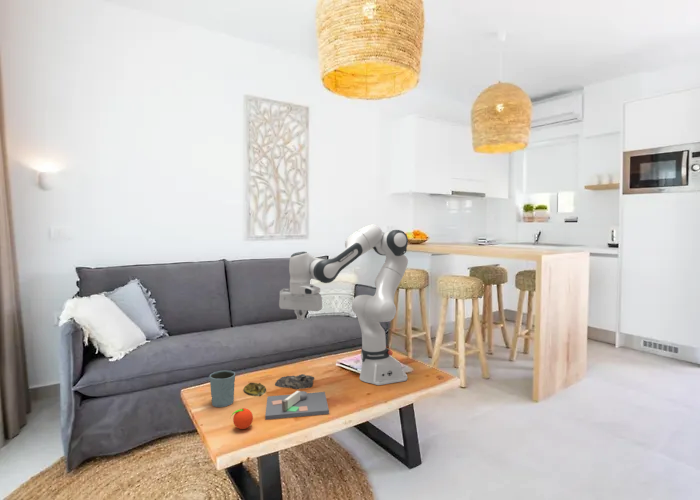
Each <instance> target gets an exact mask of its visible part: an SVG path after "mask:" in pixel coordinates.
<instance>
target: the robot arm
mask: <svg viewBox="0 0 700 500" xmlns="http://www.w3.org/2000/svg"><path fill="white" fill-rule="evenodd" d="M408 244H409V238H408V235H407V233H405V232H404V231H403V230H400V229H394V230H390V231H386V232H384V231H383V230H382V229H381V227H380V226H379V225H378V224H374V223H371V224H368V225H365V226H362V227H361V228H359V229H357V230H356V231H354V232H352V233H351V234H349V236H347V237H346V238H345V240H344V247H345V249H343V251H341V252H340V253H338V254H337V255H336V256H334V257H332V258H327V259H324V258H318V257H317V256H316V257H315V256H314V255H311V254H310V253H308V252H307V251H298V252H294V253H293V254H291V256H289V257H290V258H289V263H288V265H289V268H288V270H289V271H288V272H289V276H290V277H289V278H290V279H289V287H287V288H286V287H283V288H281V289H280V290H279V298H278V299H279V300H278V307H279V309H280V310H294V314H295V315H296V320H297V321H304V320H305V316H306V314H307V312H308V311H309V312H320V311H322V309H323V297H322V295H321V294H320V293H321V288H320V287H318V286H315V285H313V284H311V280H315V281H318V282H321V283H323V284H330V283H332V282H333V281H335V280H336V279H337V277H338V275H339V274H340V273H341V271H342V270H344V269H345V268H347V267H348V266H349V265H350V264H351V263H352V262H354V261H356V260H357V259H359V257H360V256H362V255H364V254H365V253H367V252H369V251H370V250H372V249H373V251H374V252H375V253H376V254H378V255H380V256H385V259H384V260H385V261H384V263H383V265H382V267H381V268H380V270H379V271H378V274H377V275H376V277H375V279H374V286H375V287H376V289H375V293H374V295H370V294H360V295H356V296H355V297H354V298H353V299H352V303H351V310H352V312H353V313H354V314H355V316H356V318H357V320H358V324H359V326H360V331H361V346H362V348H361V350H360V352H361V353H360V356H361V368H360V373H359V380H360V381H362V382H363V383H369V384H373V385H374V386H382V385H388V384H393V383H394V384H395V383H399V382H400V383H401V382H406V381H408V374H407V373H406V372H405V371H404V370H403V367H402V365H401V363H400V362H399V360H397V359H396V358H394V357H392V355H393V351H392V350H391V349H389V347H387V345H386V343H387V341H386V332H385V329H384V328H383V326H382V325H381V323H386V322H387V323H388V322H391V321H392V320H393V319H394V318H395V316H396V315H397V307H396V304H395V294H396V291H397V290H398V287H399V285H400V283H401V281H402V279H403V277H404V275H405V273H406V270H407V268H408V267H407V266H408V264H409V263H408V262H409V260H408V258H407V256H406V255H405V253H407V247H408ZM300 311H301V314H300Z"/></svg>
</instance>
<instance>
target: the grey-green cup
mask: <svg viewBox="0 0 700 500" xmlns="http://www.w3.org/2000/svg"><path fill="white" fill-rule="evenodd" d="M235 381H236V372H235V371H232V370H228V369H227V370H218V371H214V372H213V373H212V372H211V374H209V384H210V385H209V386H210V394H211V396H210V397H211V405H212V406H213V407H215V408H225V407H228V405H229V406H231V405H233V404H234V401H235V398H234V397H235V385H236V384H235Z"/></svg>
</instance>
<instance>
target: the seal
mask: <svg viewBox="0 0 700 500" xmlns="http://www.w3.org/2000/svg"><path fill="white" fill-rule="evenodd" d="M243 392H244V393H245V394H246V395H247V396H253V397H261V396H263V395H265V394H266V392H267V388H266V386H265V385H264V384H262V383H261V382H248V384H246V385H245V386H244V387H243Z"/></svg>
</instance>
